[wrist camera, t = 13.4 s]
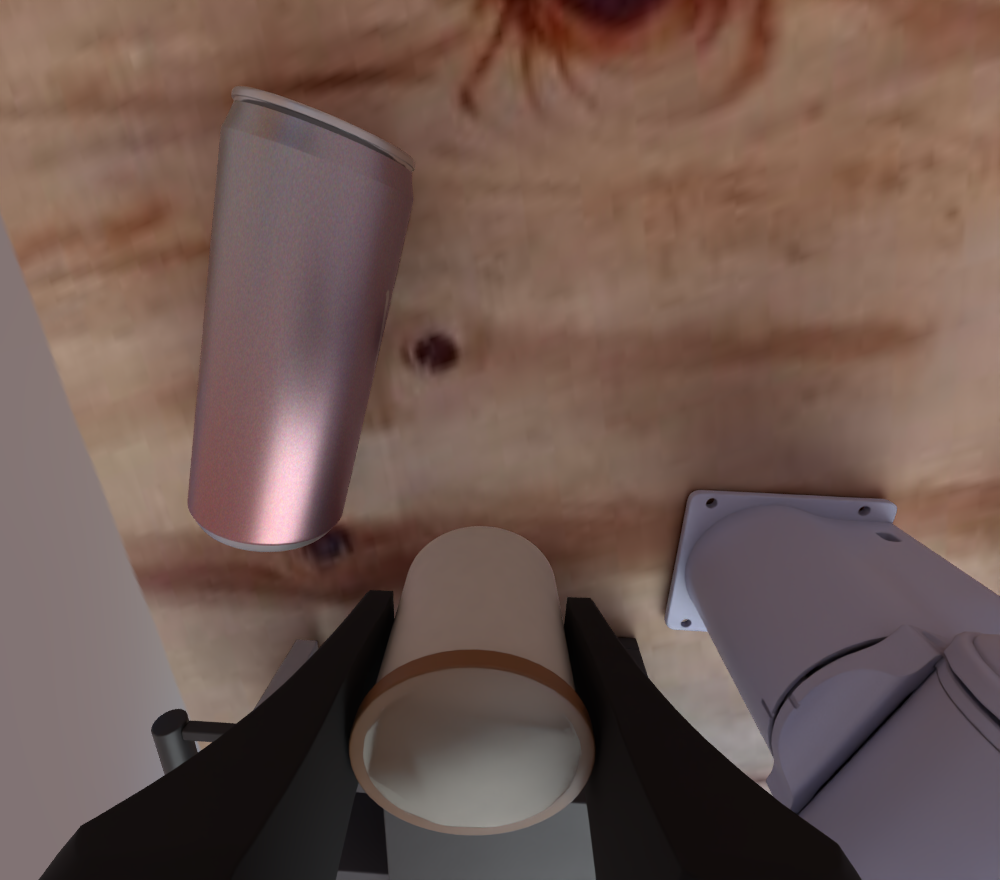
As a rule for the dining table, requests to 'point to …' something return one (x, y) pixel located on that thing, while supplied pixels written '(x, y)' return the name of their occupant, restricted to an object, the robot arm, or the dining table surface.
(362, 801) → the drawer
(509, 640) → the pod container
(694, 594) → the robot arm
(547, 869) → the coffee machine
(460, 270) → the dining table surface
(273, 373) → the beverage can
